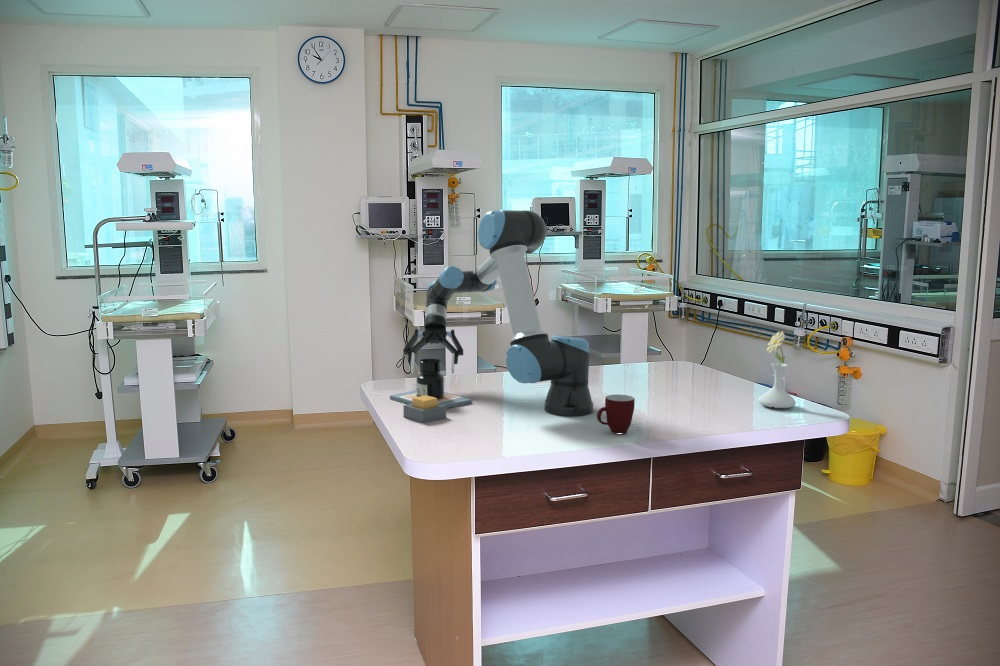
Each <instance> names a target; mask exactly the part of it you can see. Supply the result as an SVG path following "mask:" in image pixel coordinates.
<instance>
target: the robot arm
mask: <svg viewBox="0 0 1000 666" xmlns="http://www.w3.org/2000/svg"><path fill="white" fill-rule="evenodd" d="M547 234H548V233H547V226H546V223H545V221H544V219H543V218H542V216H540V215H539V214H538V213H536V212H535V211H531V210H511V209H510V210H509V209H507V210H503V209H498V210H490V211H487V212H486V213H485V214H484V215H483V216H482V217H481V219H480V222H479V225H478V231H477V238H478V242H479V245H480V246H481V247H482V248H483V249H485V250H488V251H489V255H490V256H489V257H488V258H487V259H486V260H484V262H483V263H481V264H480V265H479V266H478V267H477V268H476V269H475V270H464V271H463V270H462V269H460V268H459V267H456V266H454V265H449V266H446V267H445V268H444V269H443V271H442V272H441V273H440V274H439V276H438V278H437V279H436V280H434V281H432V282H429V284H428V286H427V289H426V294H425V295H426V298H425V299H426V300H425V312H424V313H425V315H424V326H423V328H424V329H423V330H419V329H418V328H415V329H414V333H413V335H411V338H410V339H409V340H408V342H407V343H406V345H405V346H404V347H403V354H404V355H405V356H407V357H408V358H407V362H408V365H409V364H410V373H411V374H414V370H415V354H416V353H417V352H418V351H420V350H422V348H423V347H425V346H426V345H428V344H430V345H432V344H437V345H438V344H441V345H442V346H444V347H445V348H446V349H447V350H448V351H449V352H450V353H451V368H450V369H451V374H453V375H454V374H455V365H458V363H459V357H461V356H464V349H463V347H462V344H461V343H460V341H459V340H458V337H456V333H455V332H456V331H455V329H451V330H450V331H447V313H448V302H449V300H450V299H451V298H452V296H453V295H454V294H463V293H481V292H482V293H486V292H490V291H493V290H495V288H496V285H497V280H498V279H499V278H500V282H501V286H502V290H503V295H504V299H505V302H506V303H505V305H506V308H507V313H508V318H509V322H510V325H511V329H512V334H513V335H512V338H511V339H510V341H509V344H510V347H509V348H508V349H507V351H506V356H505V363H506V364H505V365H506V368H507V371H508V372H509V374H510V376H511V377H512V378H513V380H515V381H517V382H518V383H521V384H537V383H538V382H539V383H541V382H546V381H547V382H548V381H550V386H549V388H548V392H547V395H546V398H545V400H544V411H545V412H547V413H549V414H552V415H556V416H557V415H558V416H567V417H571V416H572V417H577V416H578V417H580V416H586V415H589V414H592V413H593V412H594V402H593V400H592V396H591V395H592V394H591V391H590V388H589V373H590V372H589V371H590V369H589V368H590V354H591V352H590V343H589V341H588V340H587V339H585V338H582V337H577V336H569V335H560V334H559V335H557V334H556V335H552V336H551V339H550V338H549V335H548V334H549V333H548V332H546V331H544V330H543V329H542V327H541V322H540V319H539V313H538V310H537V309H538V308H537V305H536V301H535V297H534V292H533V288H532V283H531V279H530V275H529V270H528V265H527V262H526V257H525V256H527V255H529V254H530V255H531V254H533V253H534V252H536V251H537V250H538V249H540V247H541V246H543V244H544V242H545V240H546V237H547ZM421 336H422V338H421ZM447 336H448V338H450V339H451V341H452V343H453V344H452V343H451V342H450V341H449V340H448V339H447ZM419 338H421V339H420V340H418V339H419ZM417 341H418V342H417Z"/></svg>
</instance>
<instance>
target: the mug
mask: <svg viewBox="0 0 1000 666" xmlns="http://www.w3.org/2000/svg"><path fill="white" fill-rule="evenodd" d="M604 398H605V402H604V407H601V408H600V409H599V410H598V411H597V414H596V415H597V416H596V419H597V421H598V422H599V423H600V424H601V425H604V426H608V428H609V430H610V432H611V433H612V432H613V433H612V434H614V433H625V434H626V433H627V432H628V430H629V428H630V427H631V424H632V419H633V415H634V411H635V399H636V398H635V397H633V396H632V395H627V394H609V395H606V396H605V397H604ZM604 412H605V417H606V422H605V421H602V417H601V416H602V414H603V413H604Z"/></svg>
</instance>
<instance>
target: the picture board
mask: <svg viewBox="0 0 1000 666" xmlns="http://www.w3.org/2000/svg"><path fill="white" fill-rule="evenodd" d="M415 397H417V393H416V390H411V391H405V392H400V393H396V394H391V395H389V400H392V399H393V400H392V401H395V400H396V401H395V402H399V403H402V402H403V404H405V403H407V404H406V405H408V404H413V399H412V398H415ZM437 403H438V404H441V405H445V406H446V408H448V409H451V408H450V407H452V408H455V407H454V406H457V407H459V406H458V405H461V406H464V405H463V404H465V405H468V404H467V403H470V404H473V399H472V398H468V397H464V396H460V395H456V394H452V393H449V392H445V391H444V396H443V397H442V398H440V399H437Z"/></svg>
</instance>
